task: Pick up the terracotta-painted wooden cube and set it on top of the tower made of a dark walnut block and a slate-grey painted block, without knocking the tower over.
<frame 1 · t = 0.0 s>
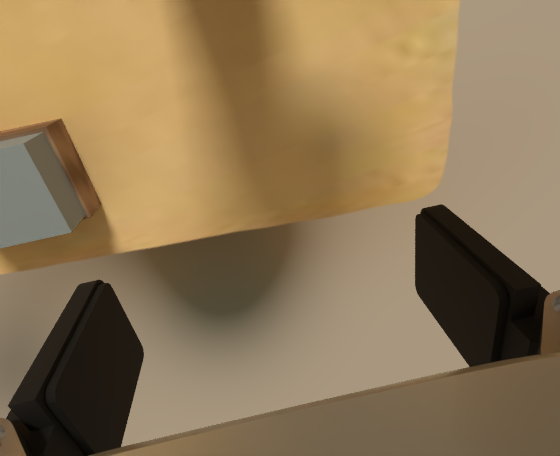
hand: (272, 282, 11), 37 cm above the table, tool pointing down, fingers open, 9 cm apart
walnut base block: (23, 175, 45), on the table, touching slate top block
slate top block: (4, 188, 41), point 4 cm above the table, touching walnut base block
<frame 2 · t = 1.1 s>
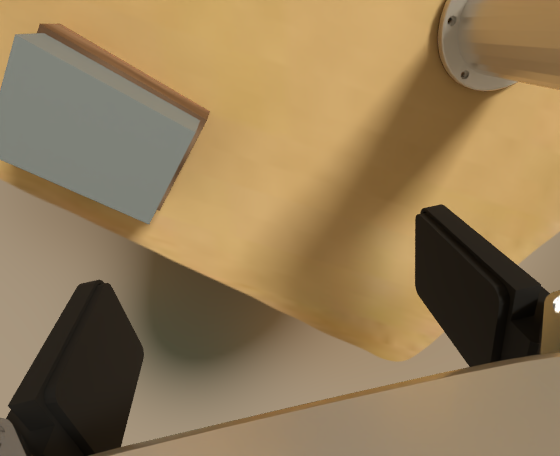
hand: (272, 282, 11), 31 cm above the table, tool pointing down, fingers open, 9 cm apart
walnut base block: (120, 118, 38), on the table, touching slate top block
slate top block: (107, 128, 34), point 4 cm above the table, touching walnut base block
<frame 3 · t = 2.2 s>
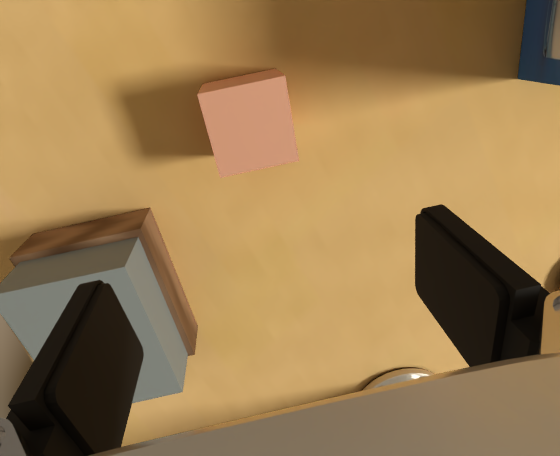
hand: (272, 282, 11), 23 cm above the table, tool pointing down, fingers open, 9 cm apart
walnut base block: (124, 282, 38), on the table
terracotta block: (247, 113, 31), on the table
milk carton: (559, 8, 30), on the table
slate top block: (112, 312, 34), point 4 cm above the table
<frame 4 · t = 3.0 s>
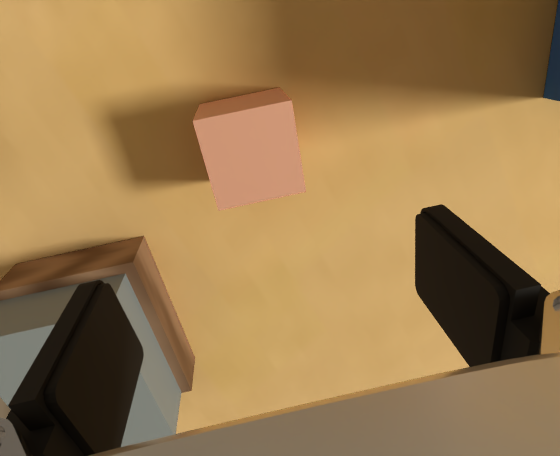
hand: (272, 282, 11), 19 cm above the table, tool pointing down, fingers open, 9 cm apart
walnut base block: (116, 312, 35), on the table, touching slate top block
terracotta block: (248, 135, 28), on the table
slate top block: (98, 351, 31), point 4 cm above the table, touching walnut base block
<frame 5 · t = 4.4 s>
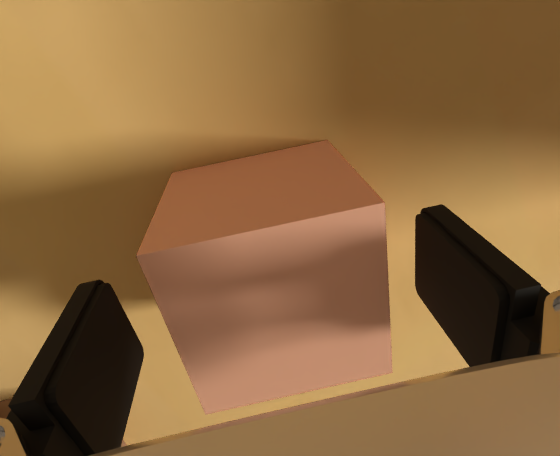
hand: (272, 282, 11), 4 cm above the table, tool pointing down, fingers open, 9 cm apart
terracotta block: (265, 224, 15), on the table
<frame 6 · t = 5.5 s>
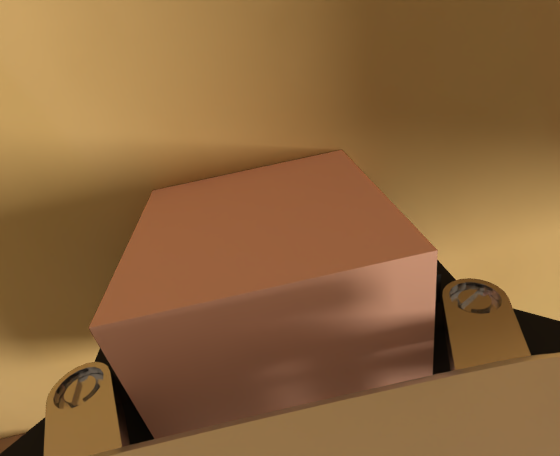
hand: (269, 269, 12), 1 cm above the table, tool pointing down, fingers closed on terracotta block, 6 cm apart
terracotta block: (266, 249, 13), on the table, touching gripper
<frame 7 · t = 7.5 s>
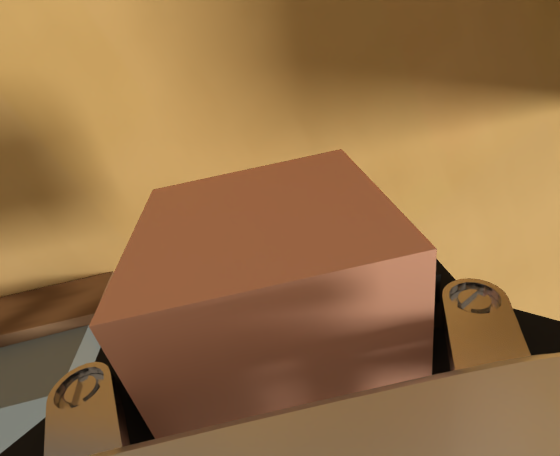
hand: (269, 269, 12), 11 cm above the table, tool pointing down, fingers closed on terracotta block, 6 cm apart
walnut base block: (84, 359, 28), on the table, touching slate top block
terracotta block: (266, 249, 13), point 10 cm above the table, touching gripper
slate top block: (65, 416, 25), point 4 cm above the table, touching walnut base block
when the fingers open (11 cm above the table, at t = 13.5 s): terracotta block drops 1 cm, point 8 cm above the table.
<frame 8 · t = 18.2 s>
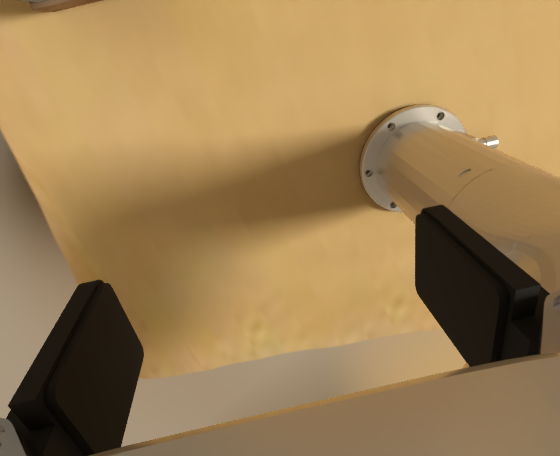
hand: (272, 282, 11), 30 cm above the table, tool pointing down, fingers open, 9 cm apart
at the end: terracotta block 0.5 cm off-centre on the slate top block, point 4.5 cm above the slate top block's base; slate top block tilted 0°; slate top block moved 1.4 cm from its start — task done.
